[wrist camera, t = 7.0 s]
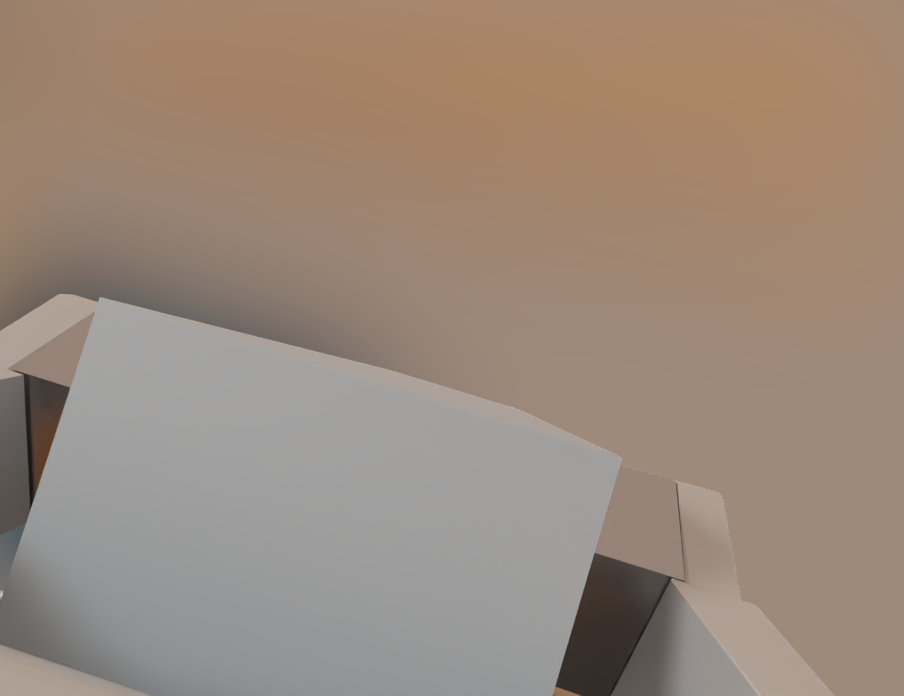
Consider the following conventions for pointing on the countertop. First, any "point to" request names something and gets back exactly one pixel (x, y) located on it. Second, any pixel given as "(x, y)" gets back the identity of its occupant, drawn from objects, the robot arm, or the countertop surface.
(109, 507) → the foil carton
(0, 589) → the countertop surface
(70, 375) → the robot arm
